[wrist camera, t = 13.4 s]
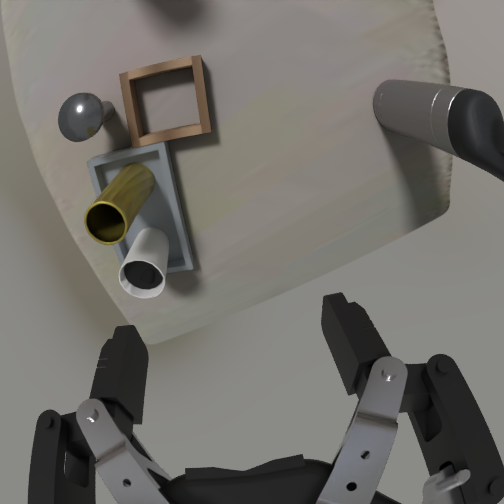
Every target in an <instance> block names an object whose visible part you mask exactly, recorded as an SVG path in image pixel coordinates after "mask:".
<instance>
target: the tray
mask: <svg viewBox="0 0 504 504" xmlns="http://www.w3.org/2000/svg"><path fill="white" fill-rule="evenodd" d="M130 163H139V164H142V165H144V166H146V167H147V168H148V169H149V170H150V171H151V172H152V174H153V176H154V182H155V185H154V189H153V192H152V193H151V194H150V195H149V197H148V198H147V200H146V201H145V203H144V204H143V206H142V207H141V209H140V210H139V212H138V214H137V216H136V217H135V219H134V221H133V223H132V225H131V227H130V229H129V231H128V232H127V234H126V236H125V237H124V238H123V240H122V241H120V242H119V243H117V244H113V246H114V249H115V251H116V254H117V257H118V259H119V262H120V264H121V266H122V264H123V262H124V260H125V258H126V256H127V254H128V252H129V250H130V248H131V247H132V245H133V243H134V241H135V239H136V237H137V235H138V234H139V233H140V232H141V231H142V230H143V229H146V228H148V227H150V228H157V229H160V230H162V231H163V232H164V233H165V234H166V235H167V237H168V239H169V254H168V262H167V270H166V273H173V272H179V271H185V270H192V269H193V268H194V258H193V254H192V250H191V246H190V242H189V238H188V234H187V230H186V225H185V221H184V217H183V213H182V208H181V204H180V199H179V195H178V190H177V186H176V181H175V176H174V171H173V167H172V162H171V157H170V152H169V146H168V141H162V142H158V143H153V144H149V145H145V146H141V147H137V148H133V147H128V148H124V149H120V150H117V151H113V152H110V153H106V154H103V155H100V156H96V157H93V158H92V159H90V160H89V161H87V165H88V169H89V173H90V176H91V180H92V183H93V187H94V190H95V193H96V197H97V198H98V196H99V195H100V194H101V193H102V192H103V190H104V189H105V188H106V187H107V186H108V184H109V183H110V182H111V181H112V180H113V179H114V177H115V176H116V175H118V173H119V171H120V170H121V169H122V168H123V167H124V166H125V165H128V164H130Z"/></svg>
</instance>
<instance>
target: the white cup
mask: <svg viewBox="0 0 504 504" xmlns="http://www.w3.org/2000/svg"><path fill="white" fill-rule="evenodd" d="M168 254H169V239H168V237H167V235H166V234H165V233H164V232H163V231H162V230H160V229H157V228H150V227H148V228H146V229H143V230H142V231H141V232H140V233H139V234H138V235H137V237H136V239H135V241H134V243H133V245H132V247H131V248H130V250H129V252H128V254H127V256H126V258H125V260H124V262H123V264H122V266H121V269H120V272H119V281H120V284H121V285H122V287H123V288H124V290H126V291H127V292H128V293H129V294H131V295H133V296H136V297H138V298H152V297H155V296H157V295H158V294H159V293H161V292H162V290H163V288H164V286H165V279H166V270H167V262H168Z"/></svg>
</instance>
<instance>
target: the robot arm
mask: <svg viewBox="0 0 504 504" xmlns="http://www.w3.org/2000/svg"><path fill="white" fill-rule="evenodd" d="M373 106H374V112H375V115H376V117H377V119H378V121H379V122H380V123H381V125H382V126H384V127H385V128H386V129H388V130H390V131H393V132H396V133H399V134H402V135H404V136H407V137H410V138H413V139H415V140H418V141H420V142H423V143H426V144H428V145H431V146H433V147H435V148H438V149H440V150H443V151H445V152H447V153H450V154H452V155H454V156H456V157H459V158H461V159H463V160H465V161H468V162H470V163H472V164H473V165H475V166H477V167H479V168H481V169H483V170H485V171H487V172H489V173H491V174H492V175H494V176H495V177H497V178H499V179H500V180H502V181H503V182H504V121H503V117H502V114H501V111H500V109H499V107H498V105H497V103H496V102H495V101H494V99H493V98H492V97H491V96H489V95H488V94H486V93H484V92H482V91H478V90H473V89H468V88H462V87H456V86H450V85H443V84H435V83H427V82H417V81H407V80H388V81H385V82H383V83H382V84H381V85H380V86H379V87H378V88H377V90H376V92H375V95H374V101H373ZM321 325H322V330H323V334H324V336H325V339H326V341H327V344H328V346H329V348H330V351H331V353H332V356H333V358H334V361H335V363H336V366H337V368H338V371H339V373H340V376H341V378H342V381H343V383H344V386H345V388H346V391H347V393H348V395H352V394H355V393H356V394H357V396H358V399H359V401H358V403H357V406H356V408H355V411H354V414H353V416H352V419H351V421H350V424H349V426H348V429H347V431H346V434H345V436H344V438H343V440H342V443H341V445H340V446H339V449H338V451H337V453H336V455H335V457H334V459H333V461H332V463H331V464H329V463H327V462H324V461H319V460H314V459H304V458H303V454H300V455H296V456H291V457H286V458H281V459H275V460H272V461H269V462H267V463H264V464H262V465H259V466H257V467H255V468H251V469H249V470H246V471H238V470H229V469H221V468H215V467H207V468H185V474H183V475H181V476H178V477H176V478H174V479H172V478H171V477H170V476H169V475H168V474H167V473H166V472H165V471H164V470H163V469H162V468H161V467H160V466H159V465H158V464H157V463H156V462H155V460H154V459H153V458H152V457H151V456H150V454H149V453H148V451H147V450H146V449H145V447H144V446H143V445H142V443H141V442H140V441H139V439H138V438H137V436H136V435H135V433H134V432H133V424H142V416H143V405H144V395H145V385H146V377H147V368H148V351H147V348H146V346H145V344H144V342H143V340H142V339H141V337H140V335H139V333H138V331H137V329H136V328H135V326H134V325H127V326H117V327H116V328H115V331H114V335H113V339H108V340H107V342H106V343H105V344H104V346H103V347H102V349H101V353H100V357H99V360H98V364H97V369H96V372H95V376H94V380H93V385H92V389H91V393H90V397H89V399H88V400H86V401H84V402H83V403H82V404H81V405H80V406H79V407H78V409H77V411H76V412H73V413H69V414H65V415H60V414H58V413H57V412H56V411H54V410H46V411H44V412H43V413H42V414H41V415H40V416H39V418H38V420H37V425H36V431H35V436H34V442H33V448H32V456H31V464H30V474H29V487H28V504H96V502H95V470H97V471H98V473H99V475H100V477H101V478H102V480H103V481H104V483H105V485H106V486H107V488H108V489H109V491H110V492H111V494H112V496H113V497H114V498H115V500H116V501H117V503H118V504H401V503H399V502H397V501H395V500H393V499H391V498H389V497H387V496H386V495H384V494H382V493H380V492H378V491H376V489H377V486H378V484H379V481H380V479H381V476H382V474H383V471H384V469H385V466H386V463H387V460H388V457H389V455H390V451H391V449H392V445H393V442H394V439H395V436H396V433H397V429H398V423H397V422H396V421H397V416H398V413H402V412H407V413H408V415H409V418H410V420H411V423H412V426H413V428H414V431H415V434H416V436H417V439H418V442H419V445H420V448H421V450H422V453H423V456H424V459H425V462H426V465H427V468H428V471H429V474H430V477H429V479H428V480H427V481H426V482H425V484H424V487H423V502H422V504H497V503H498V502H499V501H501V499H502V498H503V497H504V466H503V463H502V460H501V458H500V455H499V452H498V450H497V447H496V445H495V442H494V440H493V437H492V435H491V433H490V430H489V428H488V426H487V424H486V422H485V419H484V417H483V415H482V413H481V411H480V409H479V407H478V404H477V402H476V400H475V398H474V396H473V394H472V392H471V390H470V389H469V387H468V385H467V383H466V381H465V379H464V377H463V376H462V374H461V372H460V370H459V368H458V366H457V365H456V363H455V361H454V360H453V359H452V358H451V357H449V356H447V355H444V354H437V355H434V356H432V357H431V358H430V359H429V361H428V362H427V363H424V364H404V363H403V362H402V361H401V360H400V359H398V358H395V357H392V356H391V354H390V353H389V351H388V349H387V348H386V345H385V344H384V342H383V340H382V338H381V337H380V335H379V333H378V332H377V330H376V328H375V327H374V325H373V323H372V321H371V320H370V318H369V316H368V314H367V313H366V311H365V309H364V308H362V307H361V306H360V305H358V304H357V303H356V302H352V303H348V302H347V300H346V298H345V296H344V295H343V293H341V292H340V293H335V294H330V295H325V296H324V297H323V306H322V319H321ZM65 452H66V461H65ZM96 460H97V461H96ZM64 464H65V474H64Z"/></svg>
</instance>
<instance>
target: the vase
mask: <svg viewBox="0 0 504 504" xmlns="http://www.w3.org/2000/svg"><path fill="white" fill-rule="evenodd" d="M154 185H155V182H154V176H153V174H152V172H151V171H150V170H149V169H148V168H147V167H146V166H144V165H142V164H139V163H130V164H128V165H125V166H124V167H123V168H122V169H121V170H120V171H119V173H118V175H116V176H115V177H114V179H113V180H112V181H111V182H110V183H109V184H108V186H107V187H106V188H105V189H104V190H103V192H102V193H101V194H100V195H99V196H98V198H97V199H96V200H95V201H94V203H93V204H92V205H91V206H90V207H89V208H88V209H87V211H86V213H85V217H84V223H85V227H86V230H87V232H88V234H89V235H90V236H91V237H92V238H93V239H94V240H96V241H97V242H99V243H101V244H104V245H113V244H117V243H119V242H120V241H122V240H123V238H124V237H125V236H126V234H127V232H128V231H129V229H130V227H131V225H132V223H133V221H134V219H135V217H136V216H137V214H138V212H139V210H140V209H141V207H142V206H143V204H144V203H145V201H146V200H147V198H148V197H149V195H150V194H151V193H152V192H153V189H154Z"/></svg>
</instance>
